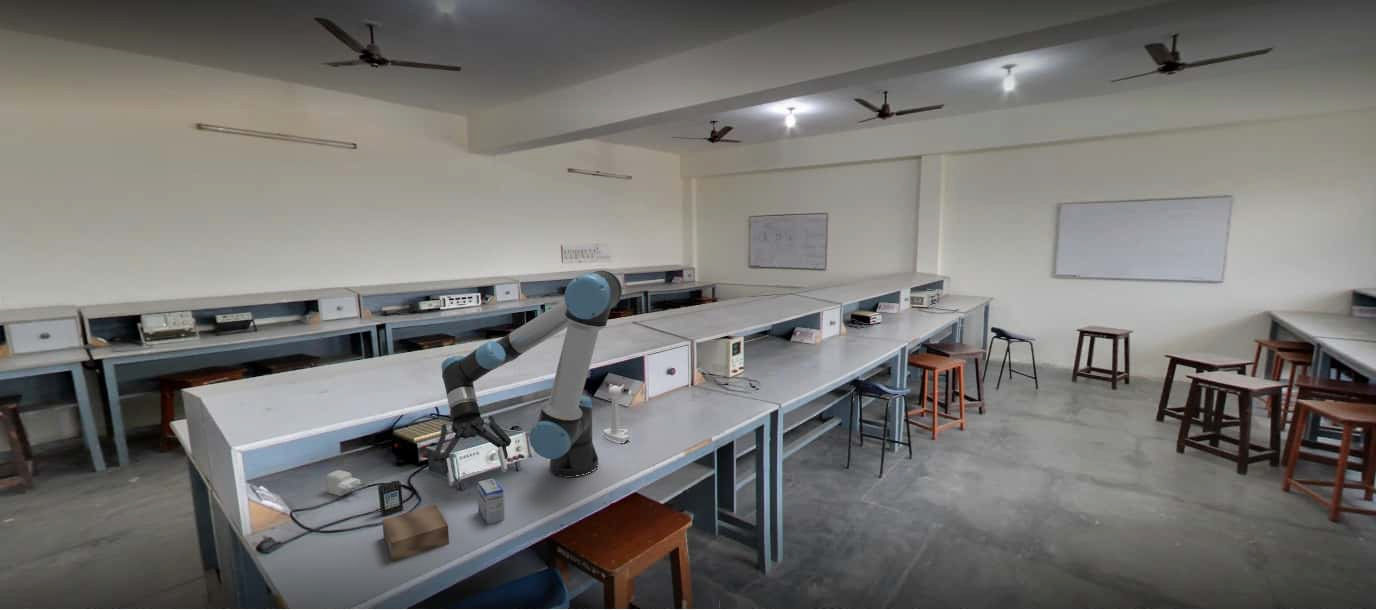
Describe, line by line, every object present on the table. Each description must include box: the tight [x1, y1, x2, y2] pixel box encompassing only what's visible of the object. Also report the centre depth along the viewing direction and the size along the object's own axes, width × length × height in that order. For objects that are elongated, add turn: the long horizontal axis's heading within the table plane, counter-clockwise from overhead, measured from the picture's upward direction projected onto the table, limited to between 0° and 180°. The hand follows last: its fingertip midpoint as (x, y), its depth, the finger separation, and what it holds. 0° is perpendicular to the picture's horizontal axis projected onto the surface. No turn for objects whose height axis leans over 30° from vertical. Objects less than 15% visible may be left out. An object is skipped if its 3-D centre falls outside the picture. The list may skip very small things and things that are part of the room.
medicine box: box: [477, 478, 505, 526], centre depth 139 cm, size 8×4×9 cm, turn 37°
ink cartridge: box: [377, 479, 404, 517], centre depth 140 cm, size 5×2×8 cm, turn 131°
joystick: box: [602, 385, 631, 442], centre depth 191 cm, size 11×8×20 cm
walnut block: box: [382, 504, 450, 563], centre depth 128 cm, size 12×12×5 cm
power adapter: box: [326, 469, 366, 497], centre depth 150 cm, size 11×5×6 cm, turn 69°
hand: (479, 477), depth 141 cm, fingers open, 13 cm apart
